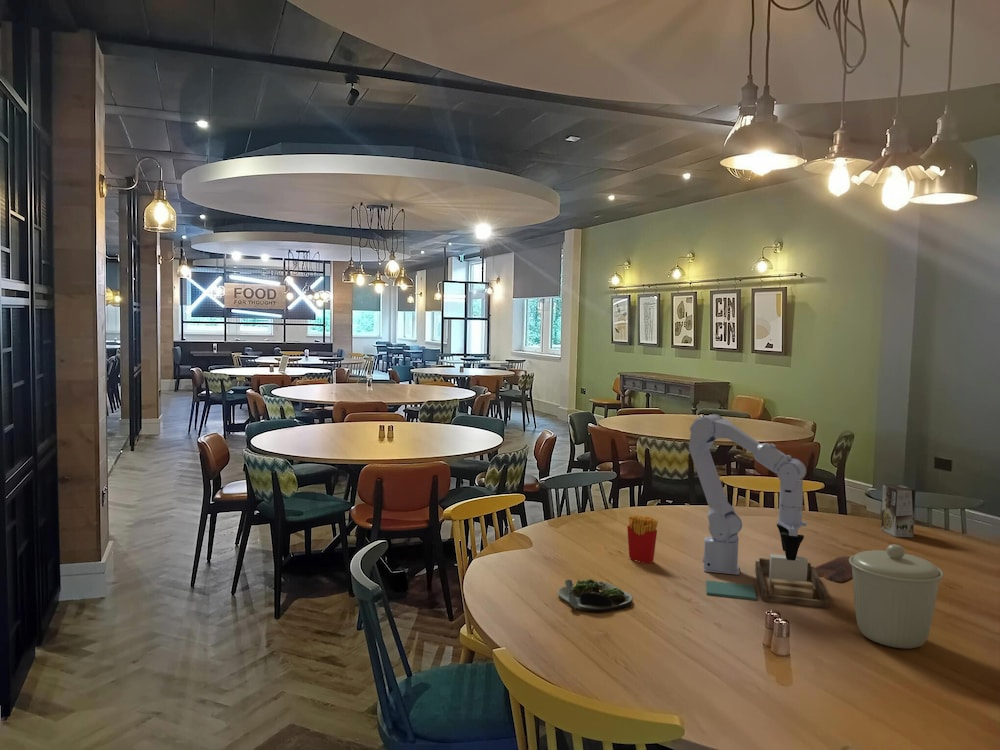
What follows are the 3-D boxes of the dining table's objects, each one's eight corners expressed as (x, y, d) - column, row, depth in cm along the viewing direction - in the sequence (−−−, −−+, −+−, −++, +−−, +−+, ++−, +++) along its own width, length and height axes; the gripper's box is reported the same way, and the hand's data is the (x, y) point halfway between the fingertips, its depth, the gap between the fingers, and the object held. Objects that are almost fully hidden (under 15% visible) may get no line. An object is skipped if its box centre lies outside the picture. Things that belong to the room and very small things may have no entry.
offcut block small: (774, 599, 176) (774, 588, 176) (773, 596, 178) (774, 584, 178) (812, 604, 173) (813, 592, 173) (811, 601, 175) (812, 589, 175)
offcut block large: (771, 595, 179) (771, 581, 179) (769, 591, 181) (770, 578, 181) (812, 599, 177) (813, 585, 176) (811, 595, 179) (811, 582, 179)
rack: (762, 600, 174) (762, 585, 174) (755, 571, 196) (755, 557, 196) (828, 608, 170) (828, 592, 170) (813, 577, 192) (814, 563, 192)
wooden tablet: (842, 551, 213) (877, 555, 205) (843, 558, 213) (878, 563, 205) (805, 571, 194) (842, 576, 187) (805, 579, 194) (842, 585, 187)
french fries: (624, 558, 206) (625, 515, 205) (631, 555, 209) (632, 512, 208) (652, 565, 200) (653, 521, 199) (659, 561, 203) (660, 518, 202)
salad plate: (539, 591, 180) (540, 573, 180) (597, 581, 188) (598, 564, 187) (580, 619, 162) (580, 600, 162) (642, 607, 170) (642, 588, 170)
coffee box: (914, 537, 232) (916, 489, 231) (894, 537, 232) (897, 489, 231) (898, 529, 241) (901, 483, 240) (880, 529, 241) (882, 483, 240)
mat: (706, 594, 178) (706, 592, 178) (706, 582, 187) (706, 580, 187) (756, 600, 175) (756, 597, 175) (753, 587, 183) (753, 585, 183)
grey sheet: (770, 584, 186) (771, 557, 186) (769, 580, 189) (770, 553, 188) (806, 588, 184) (807, 560, 183) (804, 584, 186) (806, 557, 186)
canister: (939, 665, 141) (945, 564, 140) (841, 643, 151) (845, 548, 149) (939, 633, 156) (944, 541, 155) (849, 615, 166) (853, 528, 165)
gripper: (811, 513, 177) (809, 565, 178) (802, 500, 191) (801, 548, 192) (781, 510, 179) (779, 562, 180) (775, 498, 193) (773, 546, 194)
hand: (788, 555), depth 186 cm, fingers open, 7 cm apart
